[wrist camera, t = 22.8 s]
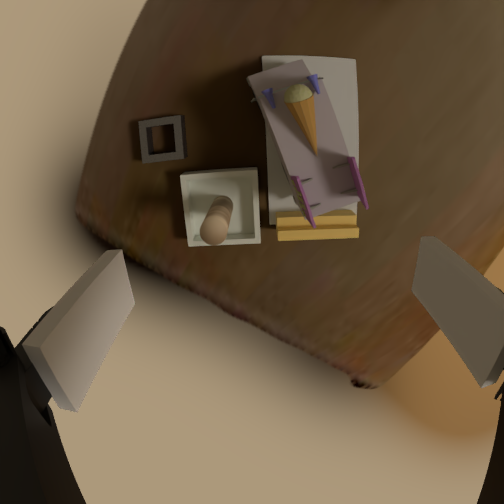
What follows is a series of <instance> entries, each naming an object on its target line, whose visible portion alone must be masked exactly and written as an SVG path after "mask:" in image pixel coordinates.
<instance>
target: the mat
mask: <svg viewBox="0 0 504 504" xmlns="http://www.w3.org/2000/svg"><path fill="white" fill-rule="evenodd" d="M301 59H302V60H303V61H304V63H305V65H306V67H307V68H308V70H309V72H310V74H311V75H314V74H317V75H318V77H323V78H324V79H322V81H323V83H324V86H325V88H326V91H327V94H328V96H329V99H330V101H331V104H332V107H333V110H334V112H335V115H336V118H337V121H338V123H339V126H340V129H341V132H342V135H343V138H344V141H345V144H346V147H347V150H348V153H349V156H350V157H355V159H356V163H357V167H358V160H359V128H358V93H357V75H356V60H355V59H347V58H335V57H319V56H262V69H263V71H265V70H268V69H271V68H274V67H277V66H280V65H284V64H287V63H290V62H294V61H297V60H301ZM265 126H266V148H267V171H268V197H269V224H276V212H286V211H300V209H299V207H298V205H296V204H295V202H294V199H293V196H294V195H293V193H292V190H291V187H290V185H289V182H288V180H287V177H286V175H285V172H284V170H283V167H282V164H281V160H280V158H279V155H278V153H277V150H276V148H275V145H274V142H273V140H272V137H271V135H270V132H269V130H268V127H267V124H266V122H265ZM335 210H352V211H353V212H354V213H355V214H356V215H357V202H355V203H352V204H350V205H347V206H344V207H341V208H338V209H335Z"/></svg>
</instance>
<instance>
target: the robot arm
mask: <svg viewBox="0 0 504 504" xmlns="http://www.w3.org/2000/svg"><path fill="white" fill-rule="evenodd" d="M411 291H412V292H413V293H414V295H415V296H416V297H417V298H418V300H419V301H420V302H421V303H422V305H423V306H424V307H425V309H426V310H427V311H428V313H429V314H430V315H431V317H432V318H433V319H434V321H435V322H436V323H437V325H438V326H439V327H440V329H441V330H442V331H443V333H444V334H445V335H446V337H447V338H448V340H449V341H450V342H451V344H452V345H453V347H454V348H455V349H456V351H457V352H458V354H459V355H460V357H461V358H462V360H463V361H464V363H465V364H466V365H467V367H468V369H469V370H470V372H471V373H472V375H473V376H474V378H475V379H476V381H477V382H478V384H479V385H480V387H481V388H483V387H486V386H488V385H491V384H494V383H496V381H497V380H498V378H499V376H500V374H501V372H502V371H503V370H504V293H503V292H502V291H501V290H500V289H499V288H497V287H495V286H494V285H493V284H492V283H491V282H490V281H488V280H487V279H486V278H485V277H484V276H483V275H482V274H481V273H479V272H478V271H477V270H476V269H475V268H473V267H472V266H471V265H470V264H469V263H468V262H466V261H465V260H464V259H463V258H461V257H460V256H459V255H458V254H457V253H455V252H454V251H453V250H452V249H450V248H449V247H448V246H446V245H445V244H444V243H443V242H441V241H440V240H439V239H437V238H436V237H435V236H427V237H421V241H420V247H419V253H418V259H417V265H416V270H415V275H414V280H413V285H412V290H411ZM134 305H135V302H134V298H133V294H132V290H131V286H130V282H129V278H128V274H127V270H126V266H125V262H124V257H123V252H122V250H107V251H106V252H105V253H104V254H103V255H102V256H101V257H100V258H99V259H98V260H97V261H96V262H95V263H94V264H93V265H92V266H91V267H90V268H89V269H88V270H87V271H86V272H85V273H84V274H83V276H81V277H80V279H79V280H78V281H77V282H76V283H75V284H74V285H73V286H72V287H71V288H70V289H69V290H68V291H67V293H65V295H64V296H63V297H62V298H61V299H60V300H59V301H58V302H57V304H56V305H55V306H53V307H52V308H50V309H49V310H48V311H46V312H45V313H44V314H43V315H42V316H41V318H40V319H39V321H38V322H36V323H35V324H34V326H33V328H31V329H30V330H29V332H28V333H27V334H26V335H25V336H24V338H23V339H22V340H21V341H20V343H19V344H18V345H17V346H16V347H15V348H14V347H13V345H12V343H11V341H10V339H9V337H8V335H7V333H6V331H5V329H4V328H3V327H0V504H86V502H85V500H84V498H83V496H82V494H81V491H80V489H79V487H78V484H77V482H76V480H75V478H74V475H73V472H72V470H71V467H70V464H69V462H68V459H67V456H66V454H65V451H64V448H63V445H62V442H61V439H60V436H59V433H58V430H57V426H56V423H55V419H54V416H53V412H52V410H51V408H50V406H49V405H48V402H49V400H50V398H51V397H53V399H54V400H55V402H56V403H57V405H58V406H59V408H62V409H65V410H70V411H74V412H77V411H78V410H79V408H80V406H81V403H82V401H83V399H84V397H85V395H86V393H87V391H88V389H89V387H90V385H91V383H92V381H93V379H94V377H95V375H96V374H97V372H98V370H99V368H100V366H101V364H102V362H103V360H104V358H105V356H106V354H107V353H108V351H109V349H110V347H111V345H112V343H113V342H114V340H115V338H116V336H117V334H118V333H119V331H120V329H121V327H122V325H123V324H124V322H125V320H126V318H127V317H128V315H129V313H130V311H131V310H132V308H133V306H134ZM501 393H502V398H501V399H500V401H501V407H500V415H499V420H498V426H497V432H496V436H495V441H494V446H493V451H492V454H491V458H490V462H489V467H488V470H487V474H486V477H485V480H484V484H483V487H482V490H481V493H480V496H479V499H478V502H477V504H504V382H503V384H502V386H501V387H500V389H499V391H498V392H497V394H496V395H495V399H497V398H498V396H499V395H500V394H501Z"/></svg>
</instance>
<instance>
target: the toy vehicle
mask: <svg viewBox="0 0 504 504" xmlns="http://www.w3.org/2000/svg"><path fill="white" fill-rule="evenodd" d="M322 79H324V78H323V77H318V75H317V74H314V75H311V74H310V72H309V70H308V68H307V67H306V65H305V63H304V61H303V60H302V59H301V60H297V61H294V62H290V63H287V64H284V65H280V66H277V67H274V68H271V69H268V70H265V71H262V72H259V73H256V74H254V75H251V76H248V77H247V78H246V80H247V82H248V85H249V87H250V86H251V87H252V89H253V94H254V96H255V98H253V99H252V100H251V103H252V102H253V101H257V104H258V106H259V108H260V110H261V111H262V114H263V117H264V119H265V122H266V124H267V127H268V130H269V132H270V135H271V137H272V140H273V142H274V145H275V148H276V150H277V153H278V155H279V158H280V160H281V164H282V167H283V170H284V172H285V175H286V177H287V180H288V182H289V185H290V187H291V190H292V193H293V195H294V196H293V199H294V202H295V204H296V205H298V207H299V209H300V211H301V213H302V215H303V217H304V219H305V220H308V221H309V223H310V224H311V226H312V227H313V228H316V224H315V222H314V219H313V217H316V216H318V215H321V214H324V213H327V212H330V211H333V210H335V209H338V208H341V207H344V206H347V205H350V204H352V203H355V202H358V201H361V202H362V203H363V205H364V206H365V208H366V209H369V206H368V203H367V199H366V195H365V189H364V187H363V183H362V180H361V176H360V173H359V170H358V167H357V163H356V159H355V157H350V156H349V153H348V150H347V147H346V144H345V141H344V138H343V135H342V132H341V129H340V126H339V123H338V121H337V118H336V115H335V112H334V110H333V107H332V104H331V101H330V99H329V96H328V94H327V91H326V88H325V86H324V83H323V81H322Z"/></svg>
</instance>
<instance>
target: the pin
mask: <svg viewBox="0 0 504 504" xmlns="http://www.w3.org/2000/svg"><path fill="white" fill-rule="evenodd" d="M232 210H233V202H232V200H231V199H230V198H229V197H227V196H218V197H216V198H215V199H214V201H213V203H212V205H211V207H210V209H209V211H208V213H207V215H206V217H205V219H204V221H203V223H202V225H201V227H200V237H201V238H202V240H203V241H204V242H205V243H207V244H209V245H219V244H221V243H222V242H223V241H224V240H225V239H226V237H227V233H228V228H229V224H230V219H231V215H232Z"/></svg>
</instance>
